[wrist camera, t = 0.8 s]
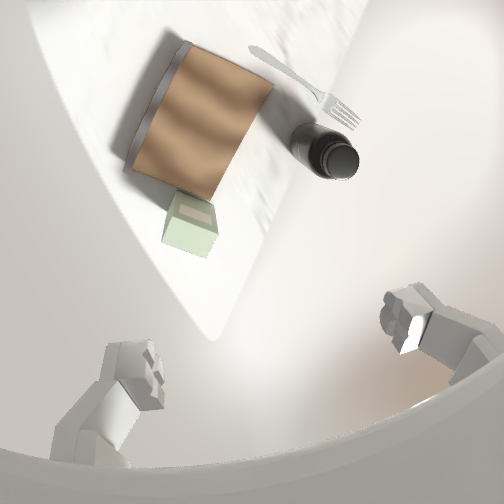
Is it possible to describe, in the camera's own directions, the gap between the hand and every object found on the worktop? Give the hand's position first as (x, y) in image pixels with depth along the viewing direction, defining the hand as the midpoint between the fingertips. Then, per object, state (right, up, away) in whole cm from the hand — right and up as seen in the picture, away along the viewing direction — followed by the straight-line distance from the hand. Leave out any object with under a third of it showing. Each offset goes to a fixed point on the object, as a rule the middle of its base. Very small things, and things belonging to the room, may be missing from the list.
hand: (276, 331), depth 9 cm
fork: (+6, +29, +29) cm, 41 cm away
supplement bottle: (+8, +20, +35) cm, 41 cm away
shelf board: (-9, +21, +30) cm, 38 cm away
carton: (-11, +9, +37) cm, 40 cm away
